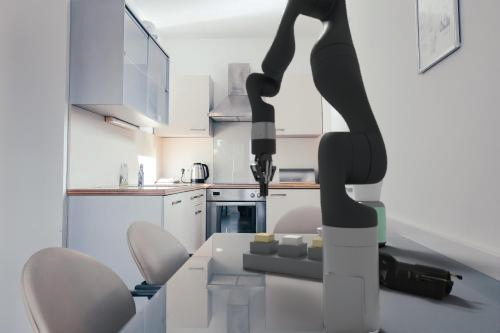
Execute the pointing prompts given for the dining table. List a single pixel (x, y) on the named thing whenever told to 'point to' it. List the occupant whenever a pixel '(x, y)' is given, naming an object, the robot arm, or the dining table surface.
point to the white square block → (292, 240)
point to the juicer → (373, 205)
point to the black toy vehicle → (415, 277)
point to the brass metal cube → (317, 242)
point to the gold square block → (264, 237)
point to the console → (285, 259)
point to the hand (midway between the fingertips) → (264, 196)
